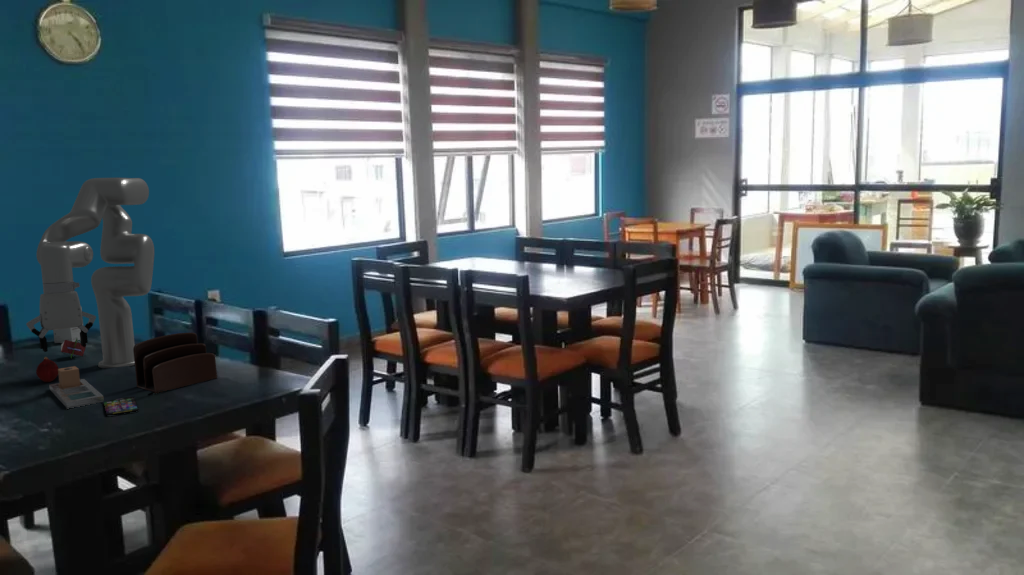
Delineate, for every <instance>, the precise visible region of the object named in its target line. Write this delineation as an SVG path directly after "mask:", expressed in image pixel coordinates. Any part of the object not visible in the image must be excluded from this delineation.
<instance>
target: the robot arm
mask: <svg viewBox="0 0 1024 575" xmlns="http://www.w3.org/2000/svg"><path fill="white" fill-rule="evenodd" d="M149 194H150V189H149V186H148V183H147V182H146V181H145V180H144V179H142V178H141V177H132V178H131V177H94V178H89V179H87V180H85V181H84V182H83V183H82V185H81V187H80V189H79V192H78V194H77V197H76V198H75V201H74V203H73V205H72V208H71V210H70V212H69V213H67V214H65V215H63V216H62V217H60V218H59V219H57V220H56V221H55V222H53V223H52V224H50V226H48V227H47V228H46V229H45V231H44V232H43V234H42V236H41V239H40V241H39V242H38V244H37V249H36V259H37V260H36V261H37V262H38V264H39V265H40V270H41V279H42V288H43V289H42V290H43V293H41V294H40V296H39V315H38V316H36V317H34V318H32V319H31V320H29V321H28V322H26V326H27V328H28V329H29V330H30V332H31V333H33V334H34V335H35V336H37V337H38V338H39V339H38V340H39V348H40V350H42V351H43V352H44V353H47V352H48V341H47V340H48V339H47V337H46V335H47V333H48V332H49V331H53V330H57V329H66V328H74V327H78V328H79V329H80V330H81V332H80V341H79V342H80V343H81V346H83V347H86V348H87V345H86V344H88V343H89V342H88V341H89V340H88V332H89V330H90V329H92V327H93V326H94V323H95V321H96V319H97V316H96V315H95V314H92V313H89V312H85V311H83V310H82V311H81V307H82V305H81V302H80V297H79V294H78V292H77V291H75V290H76V289H78V288H80V286H81V285H80V282H75V281H74V274H73V268H74V269H75V268H77V269H78V268H84V267H87V266H88V265H89V264H90V263H91V262H92V261H93V259H94V251H93V248H92V246H91V245H90V244H88V243H87V242H85V241H78V240H75V241H74V240H73V241H70V240H69V239H71V238H74V237H77V236H79V235H82V234H86V233H88V232H91V231H93V230H95V229H96V228H98V227H99V226H100V224H101V222H102V232H101V242H100V250H99V251H100V252H99V253H100V258H101V261H103V262H105V263H107V264H112V265H120V266H104V267H99V268H98V269H96V270H94V271H93V273H92V275H91V279H90V282H91V288H92V290H93V293H94V296H95V301H96V305H97V313H98V314H97V315H98V323H99V332H100V333H99V334H100V342H101V351H102V360H100V361H99V362H98V363H97V364H98V367H99V368H100V369H110V368H121V367H122V368H123V367H128V366H129V367H132V366H135V362H134V351H133V348H134V346H135V345H136V344H135V335H134V334H135V333H134V325H133V315H132V308H131V306H130V304H129V303H128V301H127V299H125V298H124V297H139V296H140V297H141V296H142V297H143V296H145V295H148V293H149V292H150V291H151V289H152V283H153V275H154V274H153V272H154V262H155V245H154V241H153V240H152V238H151V237H150V236H149V235H148V234H145V233H132V230H133V221H132V218H131V216H130V215H129V213H128V212H127V211H126V210H125V209H124V208H123V207H122V206H135V205H137V206H139V205H143V204H145V203H146V202H147V201H148V199H149ZM68 240H69V241H68ZM124 264H126V266H125V265H124ZM127 264H130V265H131V264H132V265H131V266H129V265H128V266H127ZM121 265H124V266H121ZM84 317H85V318H88V321H87V323H86V324H85V325H84V319H83V318H84ZM38 323H39V324H40V327H41V329H40V330H38V329H36V327H35V325H36V324H38ZM82 324H83V325H82Z"/></svg>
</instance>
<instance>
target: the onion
mask: <svg viewBox="0 0 1024 575" xmlns="http://www.w3.org/2000/svg"><path fill="white" fill-rule="evenodd" d="M58 369H60V368H59V366H58V364H57V363H56V362H55V361H53V360H51V359H49V357H47V356H44V358H43V360H42V361H41V362H39V364H38V365H37V366H36V369H35V370H36V371H35V372H36V376H37V378H39V379H40V381H42V382H44V383H51V382H53V381H55V379H56V378H57V377H59V375H58Z"/></svg>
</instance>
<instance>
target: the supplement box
mask: <svg viewBox="0 0 1024 575" xmlns="http://www.w3.org/2000/svg"><path fill="white" fill-rule="evenodd" d="M82 308H83V307H82V306H81V311H83V309H82ZM82 325H83V326H84V323H83V324H82ZM52 331H53V340H54V341H53V342H54V344H62V343H63V342H64V341H65V340H68V341H72V340H73V342H75V341H76V337H77V339H78V340H80V332H81V330H80V329H79V328H78V327H74V328H66V329H57V330H52Z"/></svg>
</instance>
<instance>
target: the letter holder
mask: <svg viewBox="0 0 1024 575" xmlns="http://www.w3.org/2000/svg"><path fill="white" fill-rule="evenodd" d="M198 341H199V340H198V335H197V333H195V332H179V333H171V334H165V335H161V336H157V337H153V338H150V339H147V340H144V341H140V342H138V343H136V344H135V346H134V348H133V351H134V362H135V365H134V368H135V380H136V388H139V389H141V390H142V389H143V390H145V391H150V392H152V394H153V393H155V394H154V395H156V393H157V394H160V393H159V392H161V393H164V392H163V391H165V392H168V391H167V390H169V391H172V390H171V389H173V390H177V389H181V388H184V386H185V387H189V386H192V384H193V385H196V384H200V383H203V382H208V381H212V380H216V379H218V372H217V369H218V368H217V361H216V354H214V353H213V352H207V346H206V344H205V343H198ZM188 385H189V386H188ZM180 387H181V388H180ZM176 388H177V389H176Z"/></svg>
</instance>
